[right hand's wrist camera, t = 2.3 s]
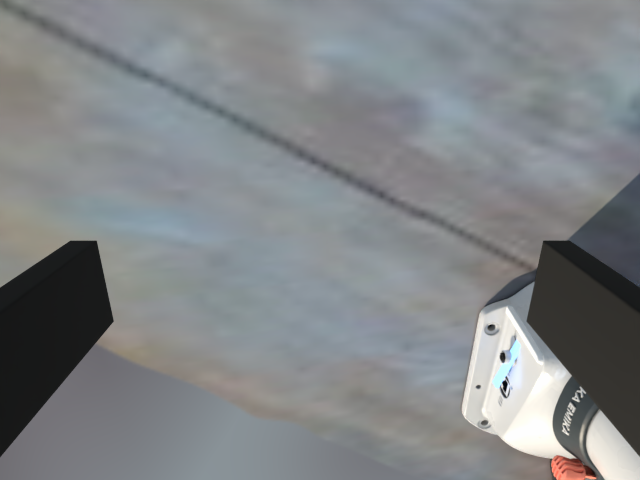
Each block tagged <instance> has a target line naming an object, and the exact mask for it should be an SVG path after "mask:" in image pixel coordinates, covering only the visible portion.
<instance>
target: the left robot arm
mask: <svg viewBox="0 0 640 480" xmlns="http://www.w3.org/2000/svg"><path fill="white" fill-rule="evenodd" d="M534 283H535V281H534V282H533V283H531V284H529V285H528V286H526V287H525V288H523V289H522V290H521V291H519V292H518V293H516V294H515V295H513V296H512V297H510V298H508V299H505V300H501V301H498V302H495V303H492V304H490V305H488V306H486V307H484V308H483V309H482V310H481V312H480V314H479V319H478V324H477V329H476V335H475V340H474V345H473V351H472V356H471V361H470V367H469V372H468V377H467V383H466V388H465V393H464V399H463V404H462V413H463V415H464V416H465V418H466V419H467V420H468V421H469V422H470V423H472V424H473V425H474V426H476V427H478V428H480V429H482V430H484V431H486V432H489V433H492V434H495V435H499V436H500V438H502V439H503V440H504V441H505V442H506V443H507V444H509V445H510V446H512V447H513V448H515V449H518V450H520V451H522V452H525V453H528V454H531V455H535V456H539V457H545V458H551V459H550V467H551V473H552V478H553V480H585V478H591V479H595V480H640V457H639V456H638V454H637V453H636V452H635V451H634V450H633V448H632V447H631V446H630V445H629V444H628V442H627V441H626V440H625V439H624V438H623V436H622V435H621V434H620V433H619V432H618V430H617V429H616V428H615V427H614V426H613V424H612V423H611V422H610V421H609V420H608V418H607V417H606V416H605V415H604V414H603V412H602V411H601V410H600V409H599V408H598V406H597V405H596V404H595V403H594V402H593V400H592V399H591V398H590V397H589V396H588V394H587V393H586V392H585V391H584V390H583V389H582V387H581V386H580V385H579V384H578V383H577V381H576V380H575V379H574V378H573V377H572V375H571V374H570V373H569V372H568V371H567V369H566V368H565V367H564V366H563V365H562V363H561V362H560V361H559V360H558V359H557V357H556V356H555V355H554V354H553V353H552V351H551V350H550V349H549V348H548V347H547V345H546V344H545V343H544V342H543V341H542V339H541V338H540V337H539V336H538V335H537V333H536V332H535V331H534V330H533V329H532V327H531V326H530V325H529V324H528V323H527V322H526V321H527V316H528V311H529V307H530V302H531V297H532V292H533V288H534ZM491 324H493V325H492V326H491V327H488V326H489V325H491ZM483 420H484V421H483ZM582 462H583V463H584V465H583V464H582Z"/></svg>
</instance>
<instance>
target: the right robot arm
mask: <svg viewBox="0 0 640 480" xmlns="http://www.w3.org/2000/svg"><path fill="white" fill-rule="evenodd" d="M113 322H114V321H113V316H112V311H111V307H110V302H109V297H108V292H107V288H106V283H105V278H104V273H103V269H102V264H101V259H100V254H99V250H98V245H97V241H69V242H68V243H66V244H65V245H63V246H62V247H60V248H59V249H57V250H56V251H54V252H53V253H51V254H50V255H48V256H47V257H45V258H44V259H42V260H41V261H39V262H38V263H36V264H35V265H33V266H32V267H30V268H29V269H27V270H26V271H24V272H23V273H21V274H20V275H18V276H17V277H15V278H14V279H12V280H11V281H9V282H8V283H6V284H5V285H3V286H2V287H0V457H1V456H2V454H3V453H4V452H5V451H6V449H7V448H8V447H9V446H10V445H11V444H12V442H13V441H14V440H15V439H16V438H17V436H18V435H19V434H20V433H21V432H22V430H23V429H24V428H25V427H26V426H27V424H28V423H29V422H30V421H31V420H32V418H33V417H34V416H35V415H36V414H37V412H38V411H39V410H40V409H41V408H42V406H43V405H44V404H45V403H46V402H47V400H48V399H49V398H50V397H51V396H52V394H53V393H54V392H55V391H56V390H57V389H58V387H59V386H60V385H61V384H62V383H63V381H64V380H65V379H66V378H67V377H68V375H69V374H70V373H71V372H72V371H73V369H74V368H75V367H76V366H77V365H78V363H79V362H80V361H81V360H82V359H83V357H84V356H85V355H86V354H87V353H88V351H89V350H90V349H91V348H92V347H93V345H94V344H95V343H96V342H97V341H98V339H99V338H100V337H101V336H102V335H103V333H104V332H105V331H106V330H107V329H108V327H109V326H110V325H111V324H112V323H113ZM526 322H527V323H528V324H529V325H530V326H531V327H532V329H533V330H534V331H535V332H536V333H537V335H538V336H539V337H540V338H541V339H542V341H543V342H544V343H545V344H546V345H547V347H548V348H549V349H550V350H551V351H552V353H553V354H554V355H555V356H556V357H557V359H558V360H559V361H560V362H561V363H562V365H563V366H564V367H565V368H566V369H567V371H568V372H569V373H570V374H571V375H572V377H573V378H574V379H575V380H576V381H577V383H578V384H579V385H580V386H581V387H582V389H583V390H584V391H585V392H586V393H587V394H588V396H589V397H590V398H591V399H592V400H593V402H594V403H595V404H596V405H597V406H598V408H599V409H600V410H601V411H602V412H603V414H604V415H605V416H606V417H607V418H608V420H609V421H610V422H611V423H612V424H613V426H614V427H615V428H616V429H617V430H618V432H619V433H620V434H621V435H622V436H623V438H624V439H625V440H626V441H627V442H628V444H629V445H630V446H631V447H632V448H633V450H634V451H635V452H636V453H637V454H638V456H639V457H640V287H638V286H637V285H635V284H634V283H632V282H631V281H629V280H628V279H626V278H625V277H623V276H622V275H620V274H619V273H617V272H616V271H614V270H613V269H611V268H610V267H608V266H607V265H605V264H604V263H602V262H601V261H599V260H598V259H596V258H595V257H593V256H592V255H590V254H589V253H587V252H586V251H584V250H583V249H581V248H580V247H578V246H577V245H575V244H574V243H572V242H571V241H543V245H542V250H541V254H540V259H539V264H538V269H537V273H536V278H535V283H534V288H533V292H532V297H531V302H530V307H529V311H528V316H527V321H526Z"/></svg>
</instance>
